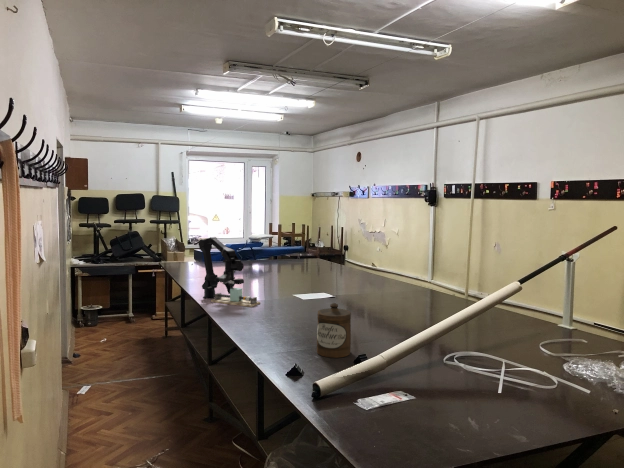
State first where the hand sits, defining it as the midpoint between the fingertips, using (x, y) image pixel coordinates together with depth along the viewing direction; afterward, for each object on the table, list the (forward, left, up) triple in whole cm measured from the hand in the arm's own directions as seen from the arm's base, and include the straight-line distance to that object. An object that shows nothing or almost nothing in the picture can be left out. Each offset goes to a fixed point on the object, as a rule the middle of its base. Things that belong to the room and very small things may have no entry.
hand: (229, 293), depth 307 cm
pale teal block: (+5, 0, -4) cm, 7 cm away
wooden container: (+98, -63, -6) cm, 116 cm away
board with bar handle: (+5, 0, -5) cm, 7 cm away
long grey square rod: (+5, 0, -3) cm, 6 cm away
